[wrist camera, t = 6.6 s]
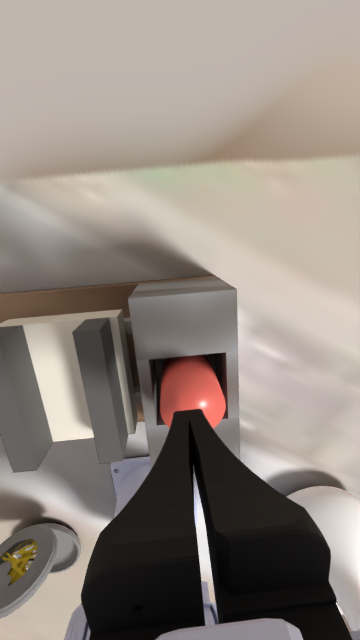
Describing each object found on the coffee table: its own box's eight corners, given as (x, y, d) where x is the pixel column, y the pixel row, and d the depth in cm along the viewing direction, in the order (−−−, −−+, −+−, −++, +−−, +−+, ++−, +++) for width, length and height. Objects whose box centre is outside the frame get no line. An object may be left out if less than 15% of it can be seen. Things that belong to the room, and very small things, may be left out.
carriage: (137, 416, 21) (130, 460, 17) (38, 426, 21) (5, 473, 17) (122, 309, 19) (108, 328, 14) (8, 319, 18) (-40, 342, 14)
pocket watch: (57, 571, 30) (4, 728, 20) (-8, 536, 28) (-101, 691, 18) (104, 530, 28) (72, 678, 19) (39, 491, 26) (-34, 633, 17)
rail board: (219, 403, 24) (239, 463, 18) (-63, 431, 24) (-153, 505, 17) (214, 275, 21) (236, 289, 14) (-115, 303, 20) (-254, 332, 14)
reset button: (214, 393, 19) (226, 432, 15) (164, 398, 18) (163, 438, 15) (211, 346, 18) (224, 375, 14) (158, 351, 17) (156, 382, 14)
